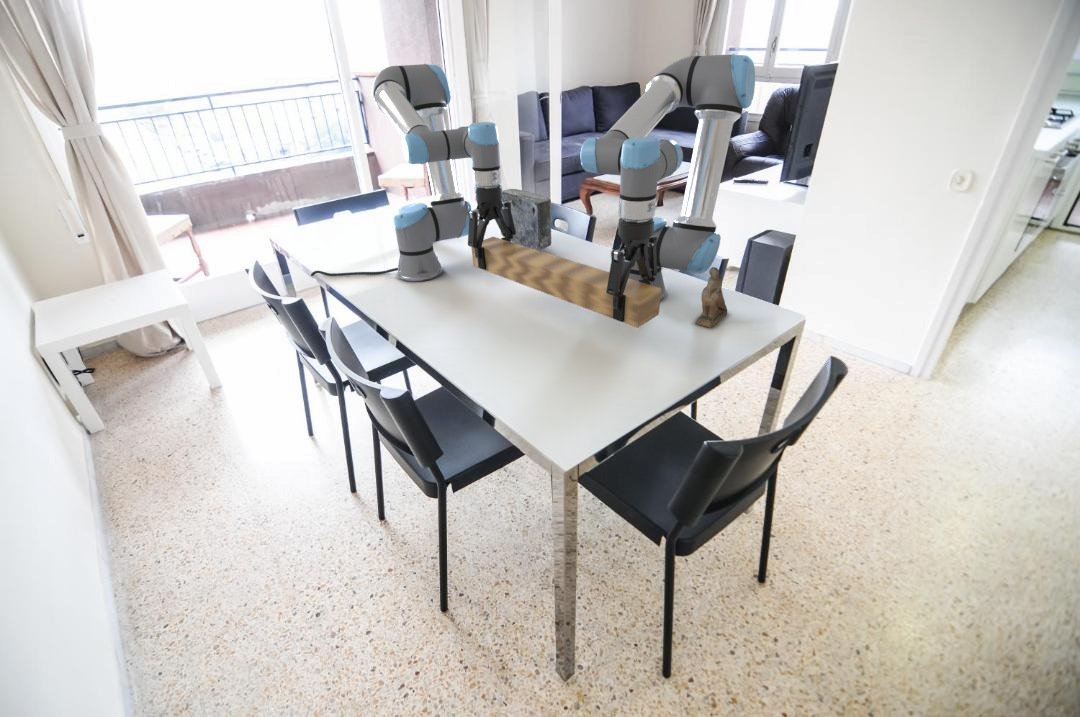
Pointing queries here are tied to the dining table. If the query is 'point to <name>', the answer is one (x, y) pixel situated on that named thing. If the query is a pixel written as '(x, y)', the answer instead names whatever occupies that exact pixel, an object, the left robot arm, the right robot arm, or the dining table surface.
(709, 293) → the brown carved statuette
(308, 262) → the dining table surface
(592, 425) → the dining table surface
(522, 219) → the concrete block
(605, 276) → the brown striped wooden beam
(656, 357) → the dining table surface
